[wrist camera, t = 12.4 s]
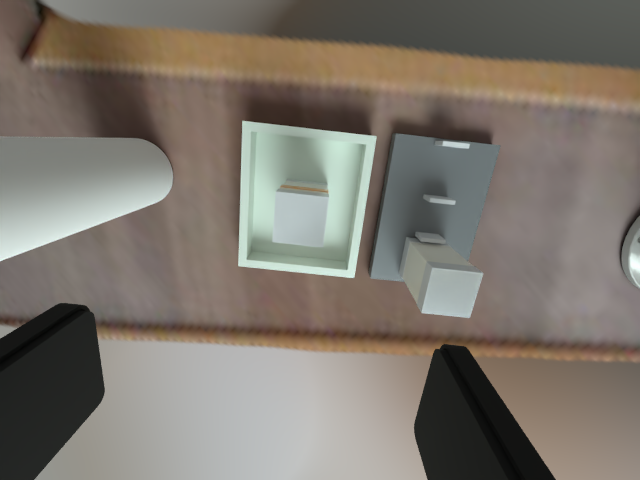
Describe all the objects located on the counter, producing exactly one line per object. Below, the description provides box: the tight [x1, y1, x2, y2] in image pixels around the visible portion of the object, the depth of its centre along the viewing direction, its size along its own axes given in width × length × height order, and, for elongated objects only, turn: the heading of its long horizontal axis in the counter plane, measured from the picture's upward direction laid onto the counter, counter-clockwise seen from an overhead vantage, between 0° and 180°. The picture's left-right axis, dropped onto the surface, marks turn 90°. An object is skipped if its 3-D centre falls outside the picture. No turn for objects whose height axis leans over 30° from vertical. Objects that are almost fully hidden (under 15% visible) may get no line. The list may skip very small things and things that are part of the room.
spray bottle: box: [0, 137, 173, 261], centre depth 20 cm, size 7×7×25 cm
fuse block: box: [368, 133, 501, 282], centre depth 31 cm, size 10×15×4 cm, turn 174°
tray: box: [238, 121, 377, 278], centre depth 31 cm, size 12×14×3 cm
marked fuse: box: [272, 179, 329, 247], centre depth 28 cm, size 4×4×8 cm
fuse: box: [399, 237, 483, 318], centre depth 29 cm, size 4×4×8 cm
